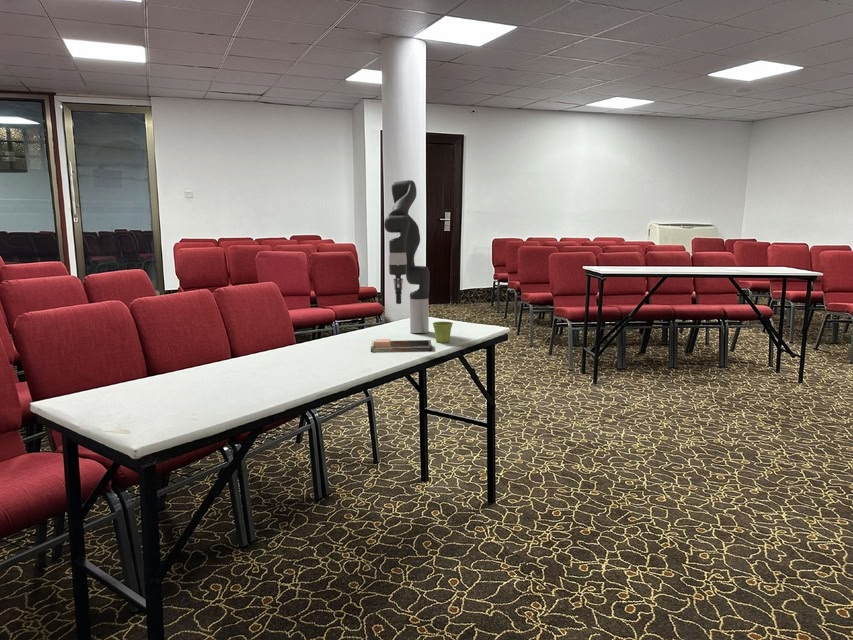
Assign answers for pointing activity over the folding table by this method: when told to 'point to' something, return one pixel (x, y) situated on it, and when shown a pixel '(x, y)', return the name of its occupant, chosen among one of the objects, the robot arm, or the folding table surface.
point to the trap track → (411, 343)
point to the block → (383, 343)
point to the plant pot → (442, 331)
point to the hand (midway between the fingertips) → (398, 303)
